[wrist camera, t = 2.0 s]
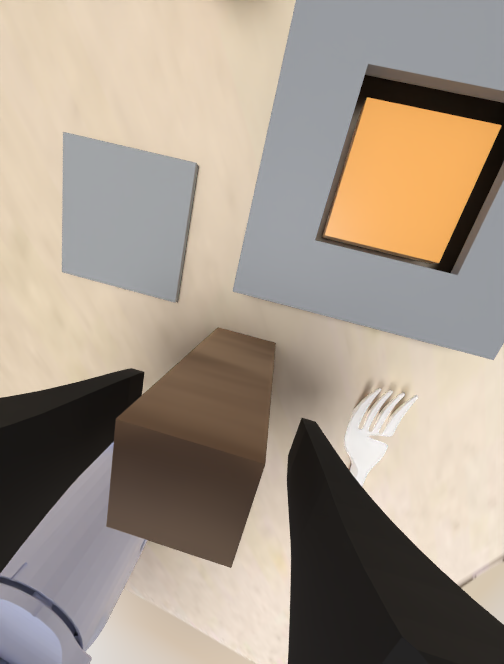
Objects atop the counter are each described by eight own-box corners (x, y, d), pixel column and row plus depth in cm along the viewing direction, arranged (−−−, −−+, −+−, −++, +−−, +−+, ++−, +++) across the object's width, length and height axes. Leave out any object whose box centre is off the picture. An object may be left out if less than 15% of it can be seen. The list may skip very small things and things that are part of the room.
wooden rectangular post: (260, 394, 16) (231, 567, 7) (207, 379, 17) (106, 526, 7) (275, 343, 15) (265, 463, 6) (217, 327, 16) (116, 418, 6)
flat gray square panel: (177, 301, 15) (175, 302, 15) (67, 272, 16) (62, 272, 16) (198, 166, 13) (195, 162, 13) (69, 135, 14) (63, 131, 13)
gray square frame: (449, 341, 14) (493, 360, 11) (242, 287, 15) (232, 291, 12) (588, 73, 10) (706, -3, 7) (303, 18, 11) (311, -70, 8)
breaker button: (429, 263, 12) (439, 263, 11) (321, 237, 12) (324, 235, 11) (485, 136, 10) (502, 125, 10) (360, 109, 11) (367, 97, 10)
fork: (297, 571, 21) (299, 599, 19) (360, 373, 16) (371, 387, 14) (333, 580, 21) (338, 610, 19) (409, 383, 15) (427, 398, 14)
